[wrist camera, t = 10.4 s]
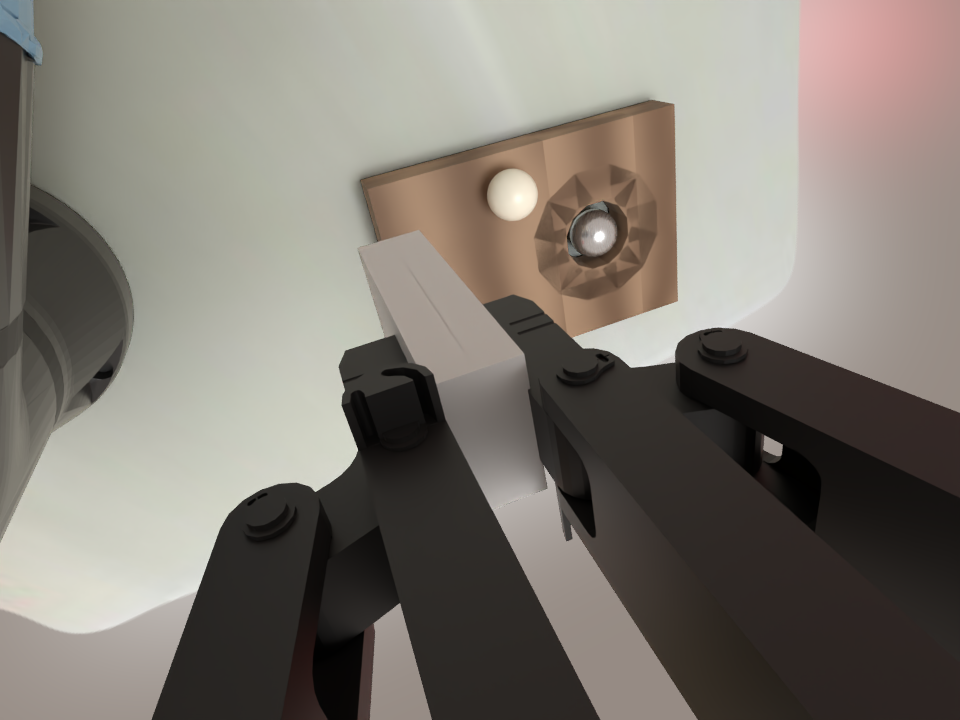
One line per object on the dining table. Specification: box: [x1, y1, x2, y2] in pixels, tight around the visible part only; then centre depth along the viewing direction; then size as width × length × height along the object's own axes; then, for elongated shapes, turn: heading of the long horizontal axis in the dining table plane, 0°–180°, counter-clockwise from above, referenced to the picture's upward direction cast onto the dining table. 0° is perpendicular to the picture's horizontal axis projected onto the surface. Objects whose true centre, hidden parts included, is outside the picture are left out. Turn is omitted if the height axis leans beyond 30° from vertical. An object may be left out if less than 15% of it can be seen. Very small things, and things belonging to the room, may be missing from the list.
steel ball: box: [570, 209, 617, 257], centre depth 42 cm, size 3×3×3 cm
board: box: [361, 100, 678, 338], centre depth 42 cm, size 20×14×2 cm
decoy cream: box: [487, 169, 538, 221], centre depth 36 cm, size 3×3×3 cm
